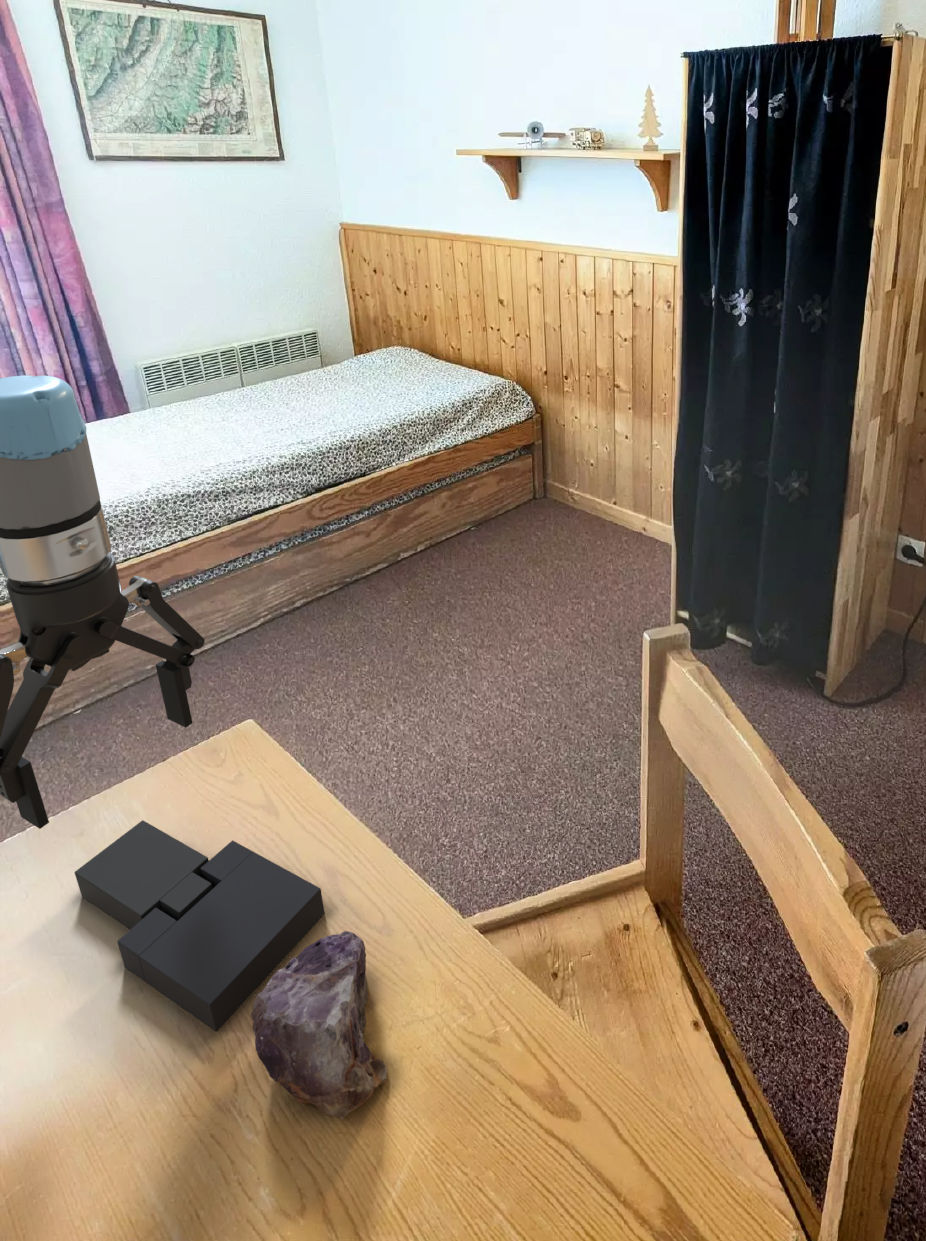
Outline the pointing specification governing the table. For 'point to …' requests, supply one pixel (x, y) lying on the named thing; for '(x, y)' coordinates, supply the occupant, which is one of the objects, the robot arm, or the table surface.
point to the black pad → (144, 876)
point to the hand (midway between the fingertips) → (113, 767)
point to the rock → (319, 1027)
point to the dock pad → (224, 935)
